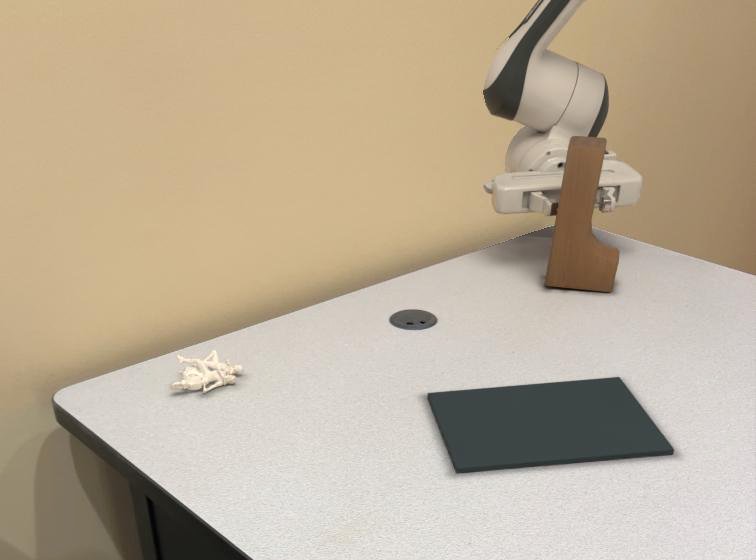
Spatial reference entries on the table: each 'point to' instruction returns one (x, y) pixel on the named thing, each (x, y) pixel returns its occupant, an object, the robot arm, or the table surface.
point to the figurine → (206, 373)
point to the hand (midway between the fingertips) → (581, 208)
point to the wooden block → (580, 223)
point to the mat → (545, 425)
